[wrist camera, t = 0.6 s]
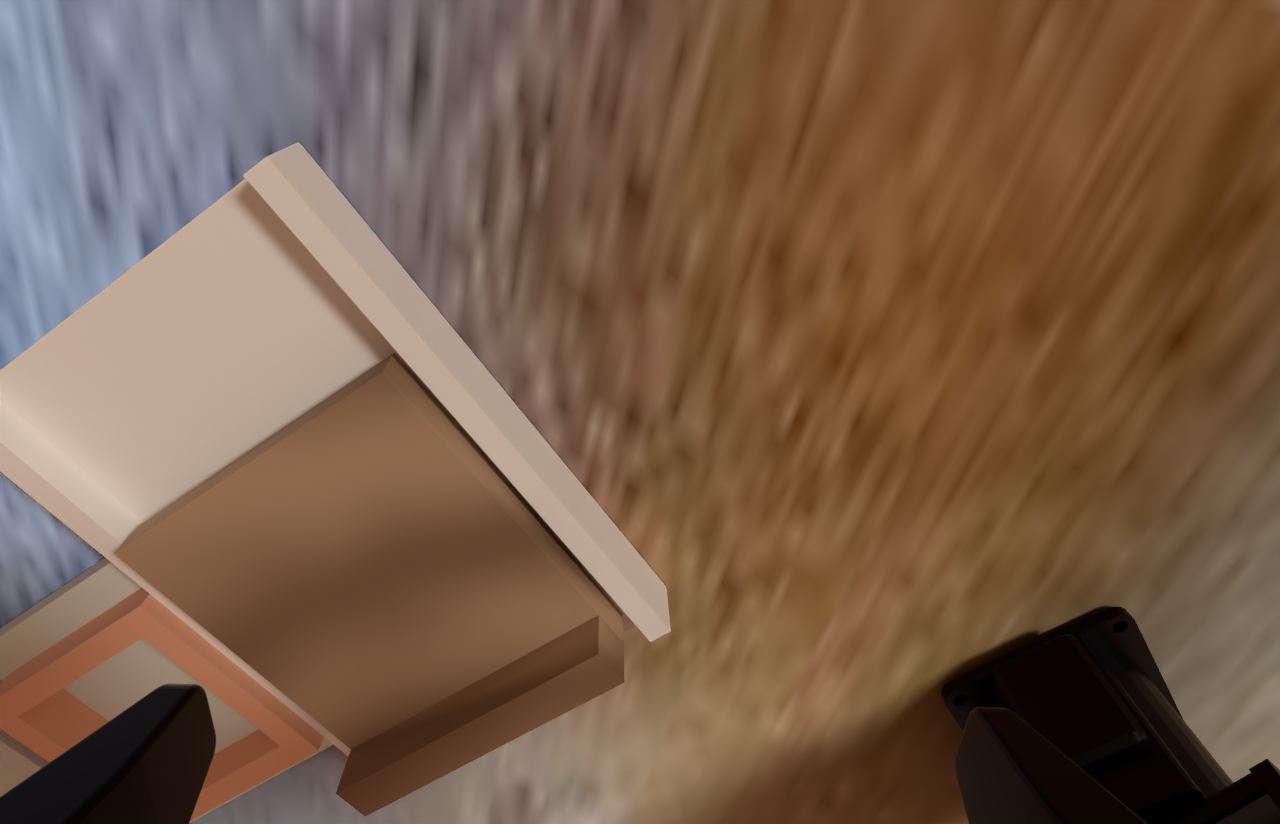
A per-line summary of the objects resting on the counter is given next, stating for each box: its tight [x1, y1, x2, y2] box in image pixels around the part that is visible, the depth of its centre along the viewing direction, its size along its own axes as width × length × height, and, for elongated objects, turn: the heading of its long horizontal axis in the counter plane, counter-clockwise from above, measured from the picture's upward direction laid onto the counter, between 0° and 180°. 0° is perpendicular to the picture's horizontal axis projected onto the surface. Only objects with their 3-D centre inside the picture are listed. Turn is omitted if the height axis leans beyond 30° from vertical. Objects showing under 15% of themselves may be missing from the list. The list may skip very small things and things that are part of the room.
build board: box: [0, 558, 333, 824], centre depth 26 cm, size 9×14×2 cm, turn 123°
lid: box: [114, 353, 624, 816], centre depth 22 cm, size 10×9×3 cm
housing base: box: [0, 142, 671, 757], centre depth 22 cm, size 16×11×2 cm
